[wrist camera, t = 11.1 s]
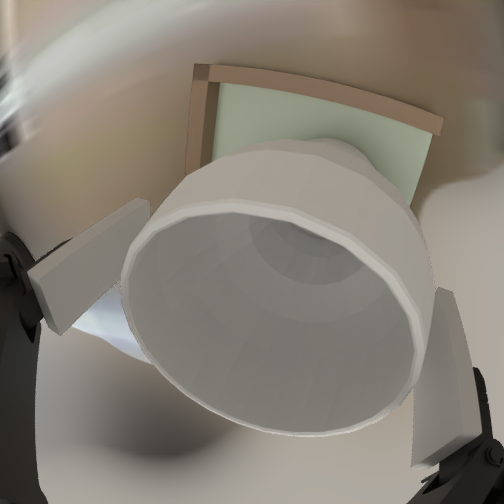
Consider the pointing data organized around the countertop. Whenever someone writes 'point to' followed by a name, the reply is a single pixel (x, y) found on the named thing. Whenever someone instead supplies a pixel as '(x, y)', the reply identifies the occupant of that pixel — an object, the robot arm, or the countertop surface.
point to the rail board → (304, 119)
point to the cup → (284, 289)
